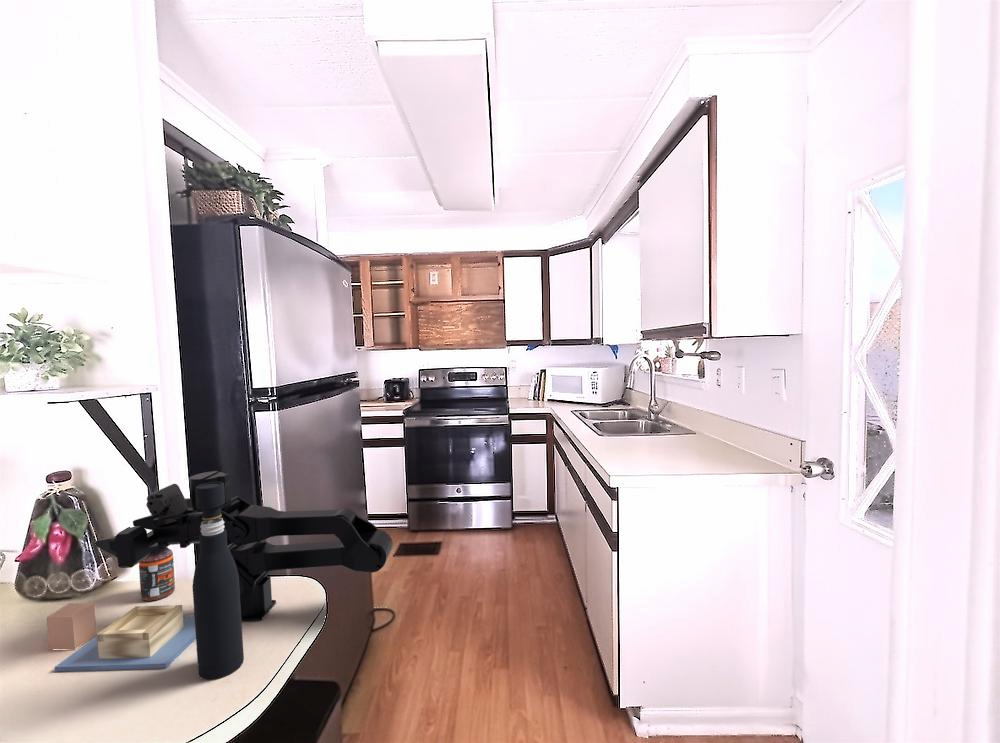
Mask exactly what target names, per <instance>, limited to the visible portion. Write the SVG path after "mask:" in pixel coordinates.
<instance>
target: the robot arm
mask: <svg viewBox="0 0 1000 743" xmlns="http://www.w3.org/2000/svg"><path fill="white" fill-rule="evenodd" d="M210 482H223V483H224V494H225V504H223V505H221V506H220V508H221V517H220V518H223V521H224V524H223V525H224V526H225V527H224V529H225V530H226V531H227V546H228V548H229V547H230V548H229V550H230V552H231V554H232V557H233V559H234V561H235V564H236V567H237V571H238V575H239V589H240V605H241V621H242V622H243V621H244V622H247V621H248V622H250V621H251V622H253V621H261V620H263V619H264V618H265V617H266V616H267V614H268V613H269V612H270V610H272V608H273V607H274V606H275V605H276V603H277V600H276V599H273V596H272V579H271V576H268V575H269V574H270V573H271V572H273V571H283V570H284V571H286V570H287V571H288V570H301V569H313V568H328V567H344V568H347V569H348V570H351V571H353V572H356V573H360V572H361V573H371V574H372V573H378V572H379V571H381V569H382V568H384V566H386V562H387V560H388V559H389V557H390V554H391V552H392V550H393V547H394V543H393V538H392V537H391V535H390V534H389V533H387V532H386V531H385V530H381V529H380V528H378V527H377V526H376V525H375V524H374V523H372V522H370V521H368V520H367V519H365V518H363V517H362V516H359V515H358V514H357V513H356V512H354V510H352V509H351V508H346V507H345V508H340V509H324V510H323V509H320V510H295V511H294V510H293V511H292V510H289V511H285V510H284V511H283V510H278V509H276V508H274V507H270V506H264V505H263V506H262V505H257V504H252V503H250V502H248V501H247V500H246V499H244V498H242V497H241V496H239V495H236V496H234V497H232V495H231V493H232V492H231V474H230V473H225V472H221V471H218V470H214V471H206V472H202V473H197V474H193V475H192V476H190V477H189V488H190V498H189V497H188V498H185V496H184V494H183V492H182V490H181V488H180V486H179V485H178V484H177V483H172V484H170V485H167V486H165V487H163V488H161V489H159V490H157V491H154V492H152V493H150V494H148V495H147V496H146V504H145V506H146V508H147V509H148V511H149V513H150V515H148V516H144V517H141V518H137V519H134V520H132V525H133V526H128V527H126V528H124V529H123V530H120V531H119V532H118V533H116V535H115V536H109V537H104V538H101V539H97V540H95V547H96V548H99V549H100V550H102V551H104V552H106V553H108V554H110V555H111V556H113V557H115V558H116V559H117V567H118V568H120V569H129V568H133V567H135V566H136V565H139V562H141V561H142V560H144V559H145V558H146V557H147V556H148V555H149V554H150V552H149V547H150V546H152V545H154V544H155V543H158V549H165V548H166V547H168V548H169V546H173V545H179V548H180V549H185V548H188V547H189V546H190V545H191V544H192V545H193V544H200V541H199V536H200V534H201V528H200V526H201V523H202V522H203V521H205V520H203V519H202V517H203V515H202V509H198V508H197V502H196V487H197V486H198V485H201V484H205V483H210ZM236 510H237V511H238V512H237V513H236V514H234V515H230V514H232V513H234V512H235V511H236ZM147 530H148V531H149V530H150V531H149V532H148V531H147ZM314 535H315V536H317V535H334V536H335V537H336V538H338V539H339V540H335V541H318V542H304V543H292V544H291V543H289V544H272V543H269V542H267V540H268V539H270V538H273V537H282V536H314Z"/></svg>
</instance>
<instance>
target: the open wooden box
mask: <svg viewBox="0 0 1000 743" xmlns="http://www.w3.org/2000/svg"><path fill="white" fill-rule="evenodd" d="M183 616H184V613H183V605H182V604H173V605H171V604H170V605H169V604H168V605H141V606H139V605H138V606H137V605H136V606H134V607H132V608H131V609H130V610H129V611H127V612H125V613H124V614H123V615H121V616H120V617H118V618H117V619H116V620H115V621H114V622H112V623H110V624H109V625H108V626H107V627H105V628H103V630H100V632H97V634H96V636H97V640H98V652H99V659H110V658H142V657H151V656H152V655H153V654H154V653H156V652H157V651H158V650H159V649H160V648H161V647H162V646H163V645H164V644H166V643H167V642H168V641H169V640H170V639H171V638H172V637H173V636H174V635H175V634H177V633H178V632H179V631H180V630H181V629H182V628H183V627H184V625H183Z"/></svg>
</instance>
